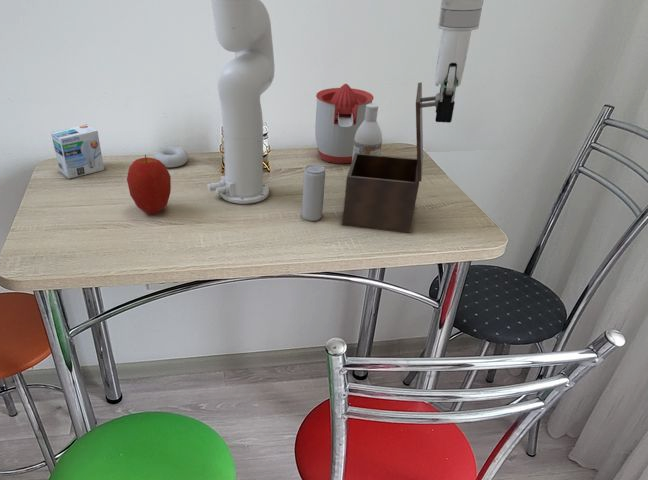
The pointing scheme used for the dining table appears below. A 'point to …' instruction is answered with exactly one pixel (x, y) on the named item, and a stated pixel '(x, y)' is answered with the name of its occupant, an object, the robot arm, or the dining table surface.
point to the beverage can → (313, 192)
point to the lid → (420, 125)
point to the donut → (171, 156)
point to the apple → (149, 184)
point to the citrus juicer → (339, 121)
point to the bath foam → (368, 133)
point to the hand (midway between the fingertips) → (443, 116)
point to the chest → (381, 192)
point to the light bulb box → (78, 151)
